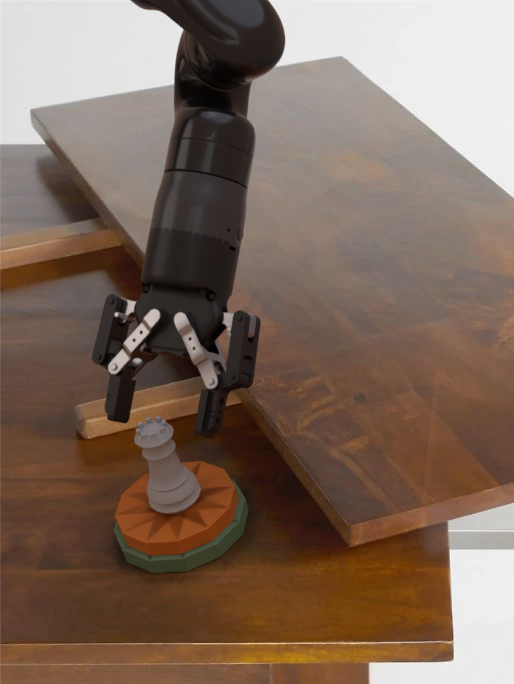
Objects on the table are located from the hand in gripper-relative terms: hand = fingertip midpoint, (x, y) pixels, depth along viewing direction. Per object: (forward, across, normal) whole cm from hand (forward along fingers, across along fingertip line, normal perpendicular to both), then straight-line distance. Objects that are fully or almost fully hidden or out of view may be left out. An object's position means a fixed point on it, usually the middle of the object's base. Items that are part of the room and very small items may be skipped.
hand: (160, 429), depth 113 cm
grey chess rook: (+6, 0, +4) cm, 7 cm away
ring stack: (+8, 0, +6) cm, 10 cm away
